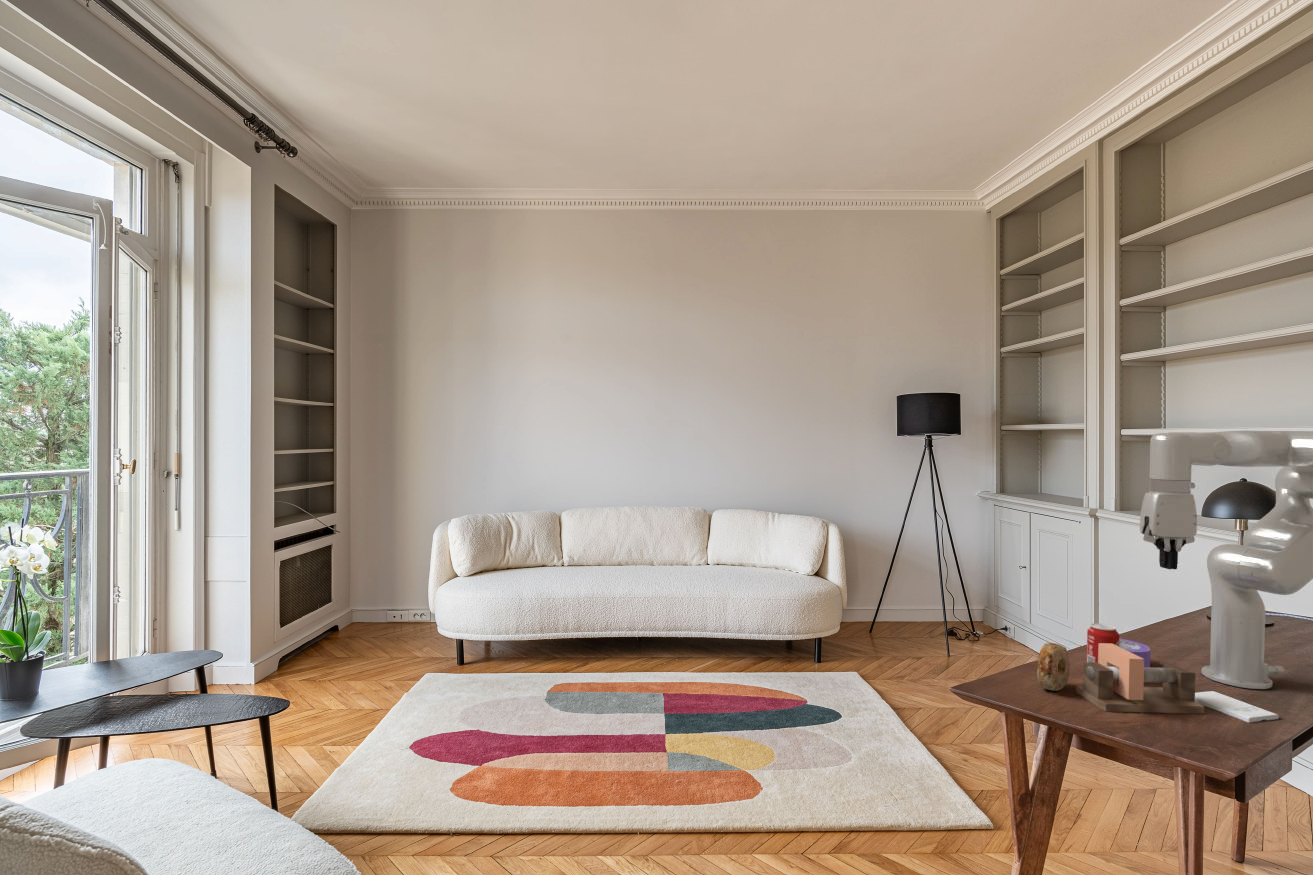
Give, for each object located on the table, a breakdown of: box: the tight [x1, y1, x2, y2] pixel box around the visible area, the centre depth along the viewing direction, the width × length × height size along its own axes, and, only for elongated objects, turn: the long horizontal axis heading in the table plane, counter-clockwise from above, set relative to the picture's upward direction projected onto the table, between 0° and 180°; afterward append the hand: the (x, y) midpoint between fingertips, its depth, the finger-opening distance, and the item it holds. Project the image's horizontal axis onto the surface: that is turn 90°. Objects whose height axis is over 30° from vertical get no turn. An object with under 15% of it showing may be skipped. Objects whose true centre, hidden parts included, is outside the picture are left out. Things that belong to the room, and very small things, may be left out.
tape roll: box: [1119, 638, 1151, 667], centre depth 168 cm, size 12×12×5 cm
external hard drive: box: [1195, 690, 1280, 723], centre depth 141 cm, size 2×8×12 cm
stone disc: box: [1036, 642, 1070, 692], centre depth 151 cm, size 10×4×10 cm, turn 126°
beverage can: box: [1086, 622, 1120, 663], centre depth 158 cm, size 6×6×12 cm
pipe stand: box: [1075, 662, 1205, 714], centre depth 143 cm, size 20×10×8 cm, turn 89°
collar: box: [1098, 643, 1145, 700], centre depth 143 cm, size 3×10×8 cm, turn 179°
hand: (1168, 567), depth 153 cm, fingers closed
